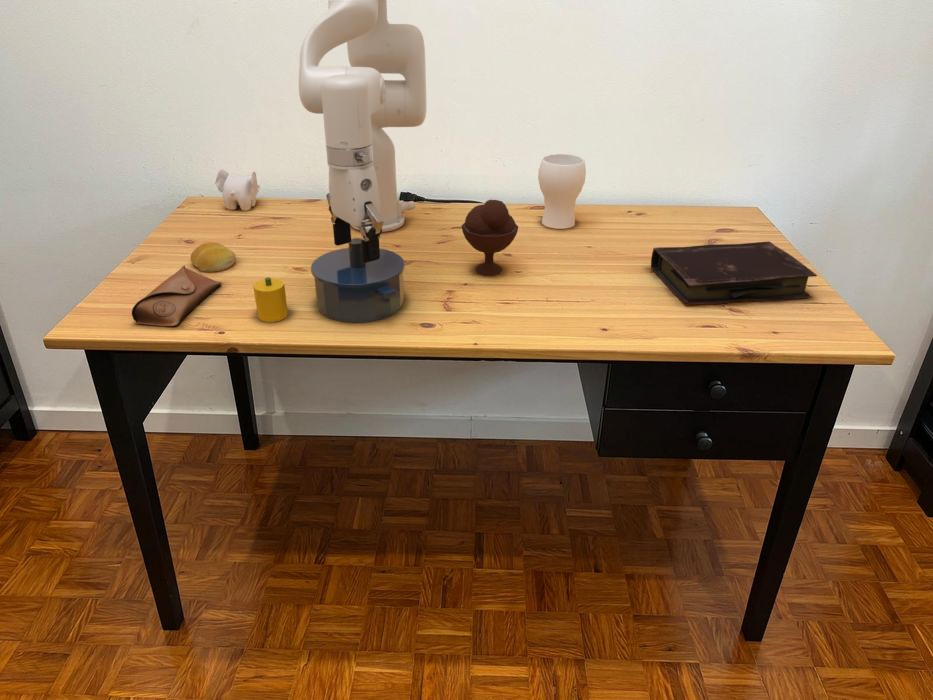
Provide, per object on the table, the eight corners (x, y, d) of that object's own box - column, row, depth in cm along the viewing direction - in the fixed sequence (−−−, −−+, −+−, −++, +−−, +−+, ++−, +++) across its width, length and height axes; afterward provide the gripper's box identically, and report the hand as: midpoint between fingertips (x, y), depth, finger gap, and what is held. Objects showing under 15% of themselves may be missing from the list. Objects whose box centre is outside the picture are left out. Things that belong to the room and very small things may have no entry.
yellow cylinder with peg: (280, 305, 132) (275, 269, 128) (293, 316, 129) (288, 279, 125) (253, 313, 129) (247, 277, 126) (265, 325, 126) (259, 287, 122)
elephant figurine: (271, 199, 183) (267, 164, 178) (251, 215, 173) (245, 178, 168) (236, 196, 184) (230, 161, 180) (213, 212, 174) (207, 176, 169)
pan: (367, 273, 145) (365, 240, 141) (428, 312, 130) (427, 276, 127) (296, 293, 136) (291, 259, 133) (352, 337, 122) (349, 300, 119)
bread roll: (205, 276, 143) (201, 257, 141) (186, 262, 148) (183, 244, 146) (244, 265, 147) (241, 247, 145) (225, 252, 153) (221, 234, 151)
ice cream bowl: (521, 263, 149) (525, 192, 142) (506, 285, 140) (509, 211, 133) (472, 256, 152) (473, 186, 145) (454, 277, 143) (454, 204, 136)
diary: (649, 267, 148) (652, 244, 146) (762, 260, 152) (768, 238, 149) (686, 309, 132) (691, 284, 130) (812, 300, 136) (819, 276, 133)
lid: (373, 245, 140) (372, 217, 137) (422, 274, 129) (422, 244, 126) (295, 266, 131) (291, 237, 129) (340, 299, 120) (337, 268, 117)
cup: (588, 221, 171) (594, 157, 163) (568, 234, 163) (574, 169, 156) (548, 212, 176) (552, 150, 168) (527, 225, 168) (530, 161, 161)
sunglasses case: (178, 325, 124) (153, 293, 122) (150, 340, 127) (124, 310, 124) (224, 281, 140) (202, 252, 137) (198, 296, 142) (176, 267, 140)
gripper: (397, 163, 116) (401, 262, 124) (343, 141, 127) (350, 233, 136) (356, 170, 112) (363, 273, 120) (305, 147, 123) (314, 242, 132)
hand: (356, 251), depth 128 cm, fingers open, 9 cm apart
